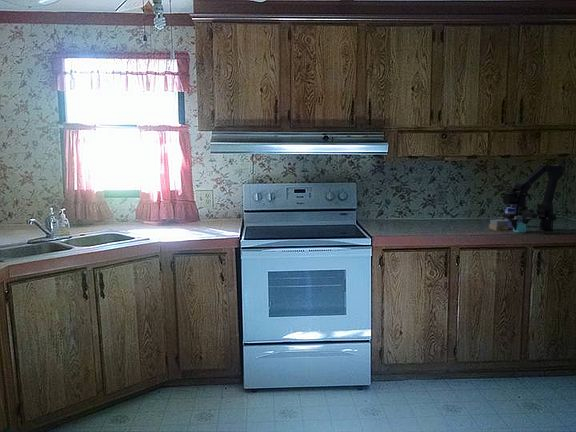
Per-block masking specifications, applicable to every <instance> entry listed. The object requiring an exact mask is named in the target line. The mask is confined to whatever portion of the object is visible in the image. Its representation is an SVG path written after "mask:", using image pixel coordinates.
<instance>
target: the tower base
mask: <svg viewBox="0 0 576 432" xmlns="http://www.w3.org/2000/svg"><path fill="white" fill-rule="evenodd" d="M488 229H490V230H492V231H496V232H497V230H498V231H509V227H508V226H494V225H490V223H489V224H488Z"/></svg>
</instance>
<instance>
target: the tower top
mask: <svg viewBox="0 0 576 432" xmlns="http://www.w3.org/2000/svg"><path fill="white" fill-rule="evenodd" d="M489 221H490V222H489V224H490V225H494V226H507V221H506V220H505V219H500V218H499V219H498V218H495V219H490V220H489Z"/></svg>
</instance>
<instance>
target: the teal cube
mask: <svg viewBox="0 0 576 432" xmlns="http://www.w3.org/2000/svg"><path fill="white" fill-rule="evenodd" d="M512 232H515V233H517V232H518V234H519V232H522V233H527V225H526V224H524V223H517V228H516V230H514V228H513V227H512Z"/></svg>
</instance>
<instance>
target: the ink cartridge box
mask: <svg viewBox="0 0 576 432" xmlns="http://www.w3.org/2000/svg"><path fill="white" fill-rule="evenodd" d="M514 205H516V204H511V206H505V213H511V214H514V212H515V207H514ZM522 218H523V217H517V218H516V219H518V220H517V223H522ZM504 220H506V221H507V226H508V228H513V225H512V223H511V221H510V219H506V218H504Z"/></svg>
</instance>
